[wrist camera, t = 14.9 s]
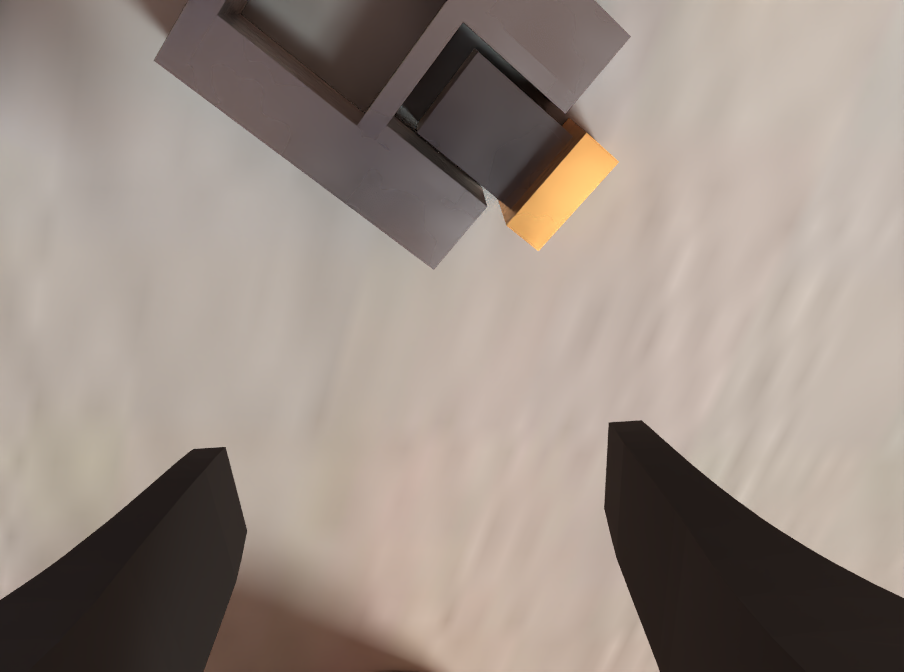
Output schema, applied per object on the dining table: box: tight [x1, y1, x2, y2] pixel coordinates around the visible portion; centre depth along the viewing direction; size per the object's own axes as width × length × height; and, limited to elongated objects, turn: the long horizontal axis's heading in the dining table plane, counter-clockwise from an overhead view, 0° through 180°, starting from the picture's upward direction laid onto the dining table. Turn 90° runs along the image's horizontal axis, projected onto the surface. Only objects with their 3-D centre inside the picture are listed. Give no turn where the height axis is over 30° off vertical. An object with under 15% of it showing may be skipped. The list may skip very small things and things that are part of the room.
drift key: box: [417, 48, 619, 251], centre depth 19 cm, size 5×3×3 cm
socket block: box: [154, 0, 631, 269], centre depth 18 cm, size 9×8×2 cm
